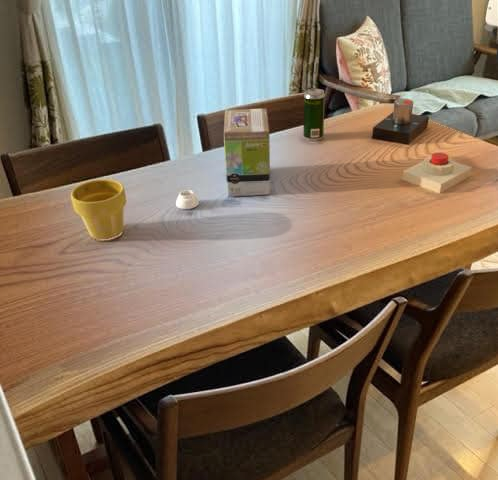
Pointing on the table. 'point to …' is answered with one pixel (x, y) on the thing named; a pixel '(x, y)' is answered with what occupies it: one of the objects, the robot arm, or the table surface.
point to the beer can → (314, 114)
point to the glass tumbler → (402, 111)
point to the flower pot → (100, 207)
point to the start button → (439, 159)
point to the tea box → (247, 152)
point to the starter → (436, 174)
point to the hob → (400, 129)
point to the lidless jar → (187, 200)
